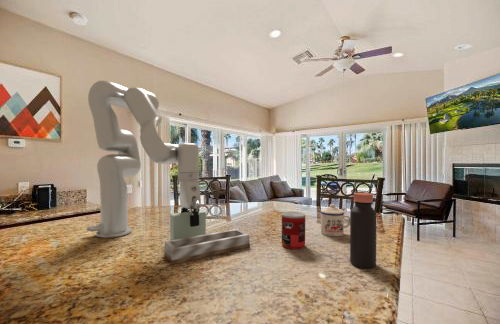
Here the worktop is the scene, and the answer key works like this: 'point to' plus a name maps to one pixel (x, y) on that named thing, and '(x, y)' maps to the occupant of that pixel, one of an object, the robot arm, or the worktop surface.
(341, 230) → the teacup with lid
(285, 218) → the canned food
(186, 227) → the pale green block
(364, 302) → the worktop surface
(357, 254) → the bottle
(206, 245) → the grey stone tray
